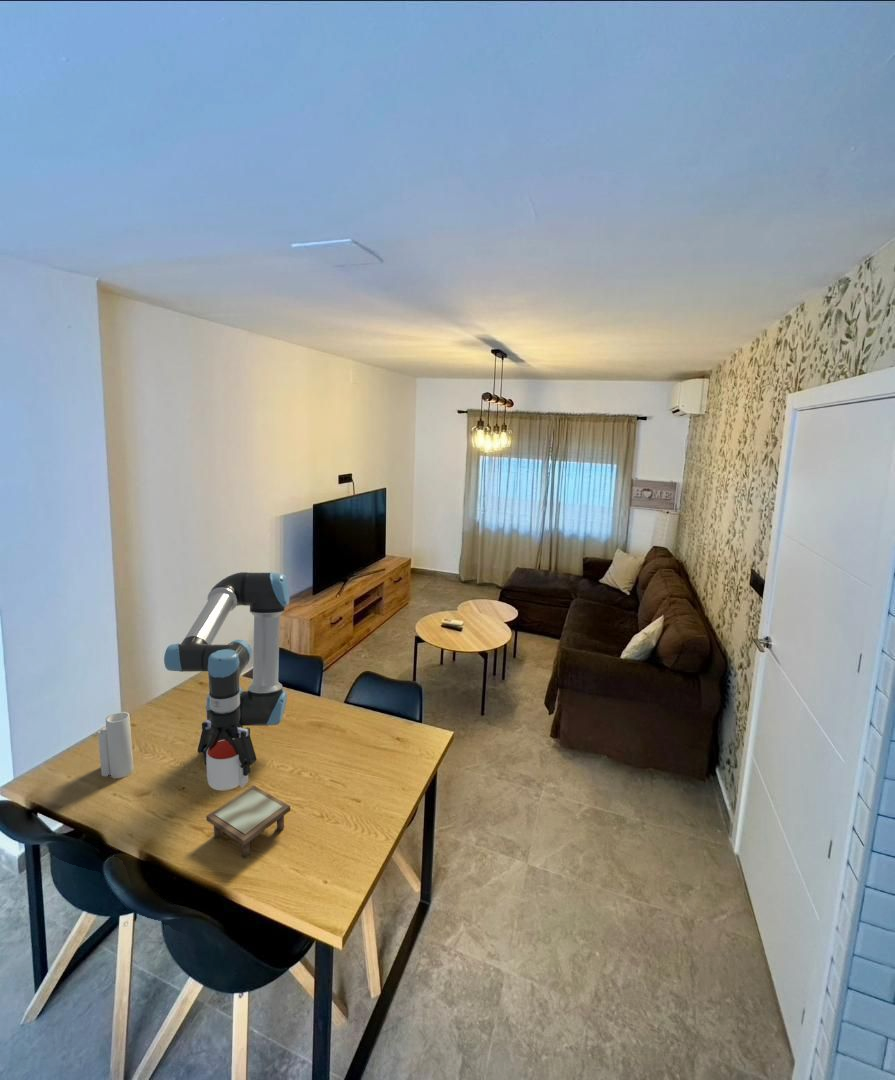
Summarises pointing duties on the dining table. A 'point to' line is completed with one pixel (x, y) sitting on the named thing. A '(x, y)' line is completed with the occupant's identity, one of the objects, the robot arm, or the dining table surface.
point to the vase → (116, 746)
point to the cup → (223, 766)
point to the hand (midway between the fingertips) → (227, 779)
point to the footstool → (248, 816)
